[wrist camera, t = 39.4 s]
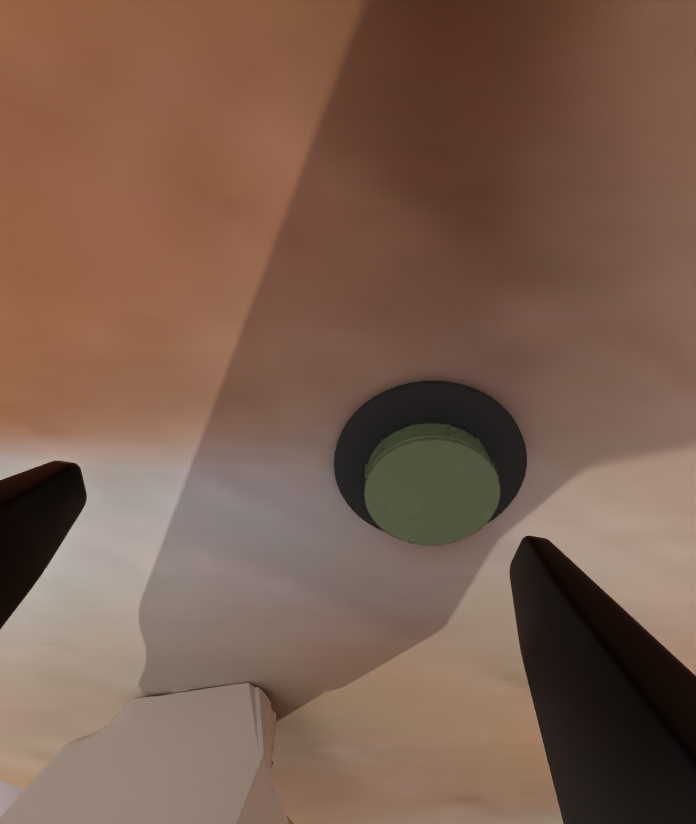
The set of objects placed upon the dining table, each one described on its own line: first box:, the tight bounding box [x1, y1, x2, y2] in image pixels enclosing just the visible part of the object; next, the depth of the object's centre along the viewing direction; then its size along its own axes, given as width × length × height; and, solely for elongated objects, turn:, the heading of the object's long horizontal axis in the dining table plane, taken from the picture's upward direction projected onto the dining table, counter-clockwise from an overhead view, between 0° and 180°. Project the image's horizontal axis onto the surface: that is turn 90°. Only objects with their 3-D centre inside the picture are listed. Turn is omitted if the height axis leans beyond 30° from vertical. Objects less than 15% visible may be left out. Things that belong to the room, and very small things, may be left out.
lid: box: [364, 423, 500, 545], centre depth 21 cm, size 7×7×2 cm
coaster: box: [334, 381, 527, 532], centre depth 21 cm, size 10×10×1 cm
